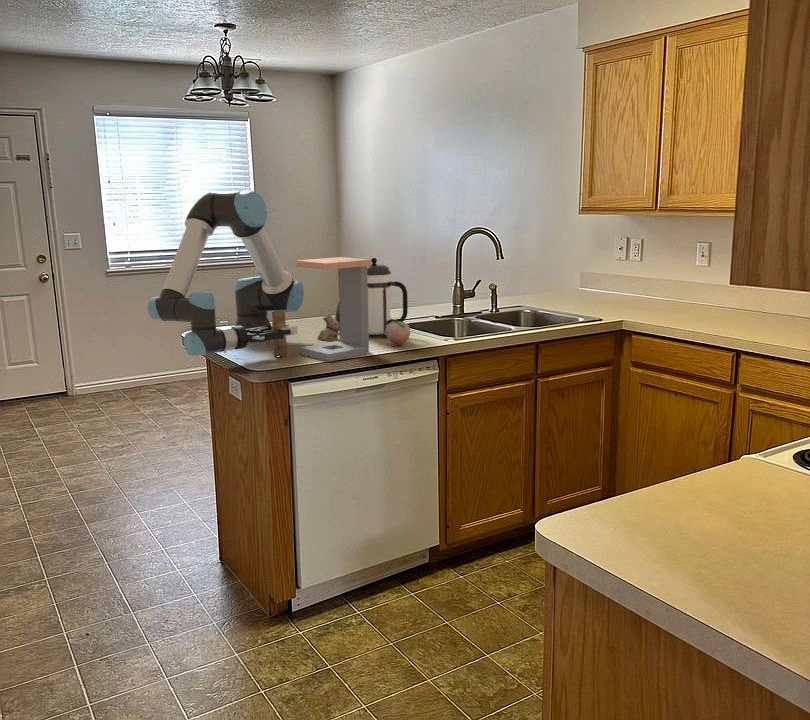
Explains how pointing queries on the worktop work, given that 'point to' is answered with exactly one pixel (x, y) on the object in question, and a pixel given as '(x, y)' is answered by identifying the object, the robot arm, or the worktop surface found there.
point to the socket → (345, 309)
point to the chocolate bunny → (329, 329)
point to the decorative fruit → (397, 332)
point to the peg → (277, 323)
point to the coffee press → (381, 298)
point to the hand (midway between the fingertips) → (292, 329)
